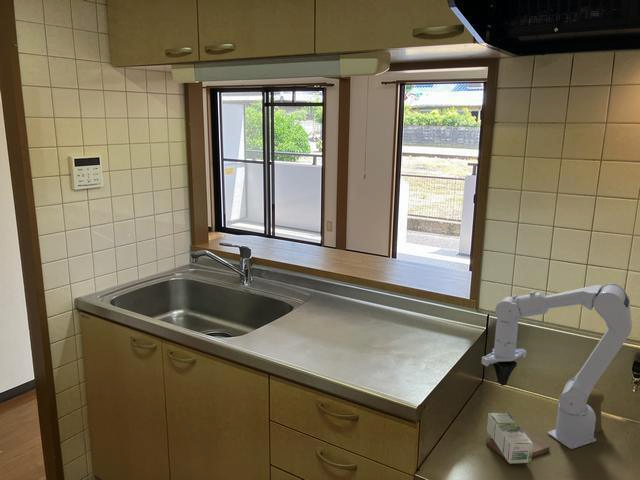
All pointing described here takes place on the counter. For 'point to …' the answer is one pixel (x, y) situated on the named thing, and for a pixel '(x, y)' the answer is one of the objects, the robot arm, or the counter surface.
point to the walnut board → (538, 445)
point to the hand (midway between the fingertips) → (501, 383)
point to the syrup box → (509, 438)
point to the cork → (596, 406)
